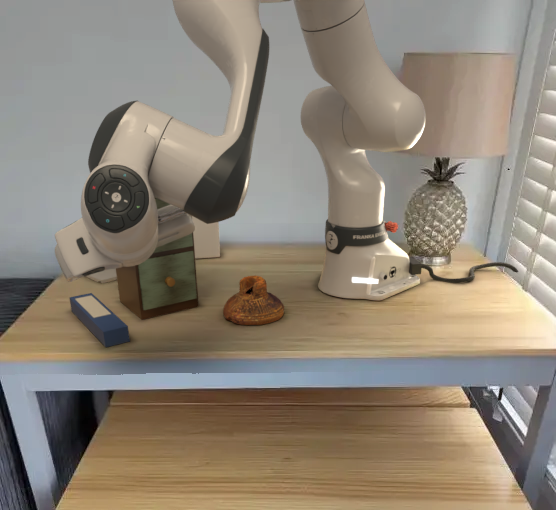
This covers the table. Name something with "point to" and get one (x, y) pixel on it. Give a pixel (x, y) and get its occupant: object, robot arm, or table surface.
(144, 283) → the drawer stand
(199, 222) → the milk carton
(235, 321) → the bell
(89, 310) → the case
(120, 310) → the table surface
